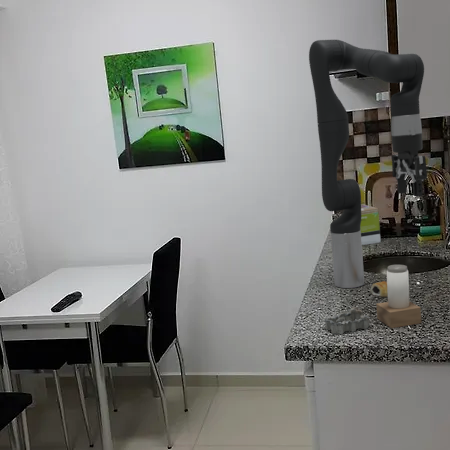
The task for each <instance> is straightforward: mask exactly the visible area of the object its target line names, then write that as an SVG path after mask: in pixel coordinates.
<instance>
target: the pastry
mask: <svg viewBox="0 0 450 450" xmlns="http://www.w3.org/2000/svg"><path fill="white" fill-rule="evenodd" d="M369 291H370V292H369V293H370V294H371V295H373V296H376V297H380V298H388V294H387V280H386V281H385V280H384V281H379V282H375V283H372V285H371V286H370V290H369Z"/></svg>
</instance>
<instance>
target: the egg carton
mask: <svg viewBox="0 0 450 450" xmlns="http://www.w3.org/2000/svg"><path fill="white" fill-rule="evenodd" d="M371 318H372V317H370V316H369V315H368V314H364V312H363V311H362V310H361V309H360V308H359V306H354V307H350V308H348V309H347V310H346V312H341V313H340V314H337V315H335V314H334V315H332V316H330V317H325V318H322V320H323V321H324V324H325V330H327V331H328V330H331V334H338V335H343V334H344V332H356V330H358V329H364V330H366V329H369V327H370V319H371Z"/></svg>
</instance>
